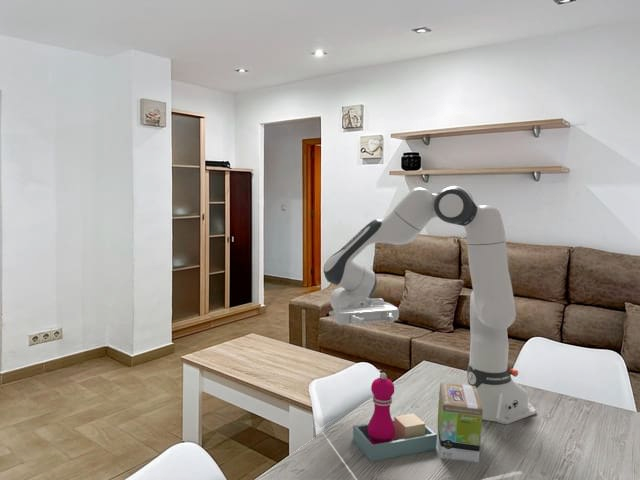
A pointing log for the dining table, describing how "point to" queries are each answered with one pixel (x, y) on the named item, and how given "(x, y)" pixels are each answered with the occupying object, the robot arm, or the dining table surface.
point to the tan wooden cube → (408, 426)
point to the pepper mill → (381, 411)
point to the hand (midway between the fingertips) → (377, 321)
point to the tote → (393, 444)
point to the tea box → (459, 422)
